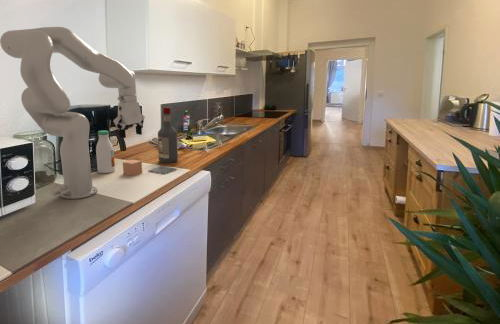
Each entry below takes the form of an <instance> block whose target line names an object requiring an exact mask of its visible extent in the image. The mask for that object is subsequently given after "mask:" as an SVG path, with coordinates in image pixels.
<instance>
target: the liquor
mask: <svg viewBox="0 0 500 324" xmlns="http://www.w3.org/2000/svg"><path fill="white" fill-rule="evenodd" d="M162 109H163V125H162V126H161V128H160V129H159V130H158V132H157V145H158V147H157V148H158V149H157V151H158V161H159V162H161V163H162V164H172V163H176V162H178V161H179V150H178V148H179V147H178V146H179V145H178V144H179V143H178V132H177V130H176V129H175V127H173V126H172V123H171V107H169V106H168V107H163V108H162Z"/></svg>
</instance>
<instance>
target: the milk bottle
mask: <svg viewBox="0 0 500 324" xmlns="http://www.w3.org/2000/svg"><path fill="white" fill-rule="evenodd" d="M109 135H110V132H109V131H108V130H98V131H97V136H98V141H97V143H96V147H95V152H96V153H95V154H96V167H97V172H98V173H100V174H111V173H115V171H116V164H115V163H116V162H115V152H114V146H113V143H112V142H111V140H110V138H109Z"/></svg>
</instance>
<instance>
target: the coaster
mask: <svg viewBox="0 0 500 324" xmlns="http://www.w3.org/2000/svg"><path fill="white" fill-rule="evenodd" d="M175 169H177V168H176V167H175V168H174V167H170V166H163V165H160V166H158V167H154V168H151V169H148V170H147V172H148V171H150V172H149V173H153V172H156V173H155V174H159V173H161V174H160V175H166V174H165V173H167V174H169V173H168V172H170V171H172V172H174V171H173V170H175ZM175 171H176V170H175ZM170 173H171V172H170Z"/></svg>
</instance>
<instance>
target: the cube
mask: <svg viewBox="0 0 500 324" xmlns="http://www.w3.org/2000/svg"><path fill="white" fill-rule="evenodd" d="M142 163H143V162H142V160H138V159H129V160H125V161H123V162H122V172H123V173H122V174H123V175H127V176H131V177H133V176H137V175H139V174H142V173H143V164H142Z"/></svg>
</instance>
